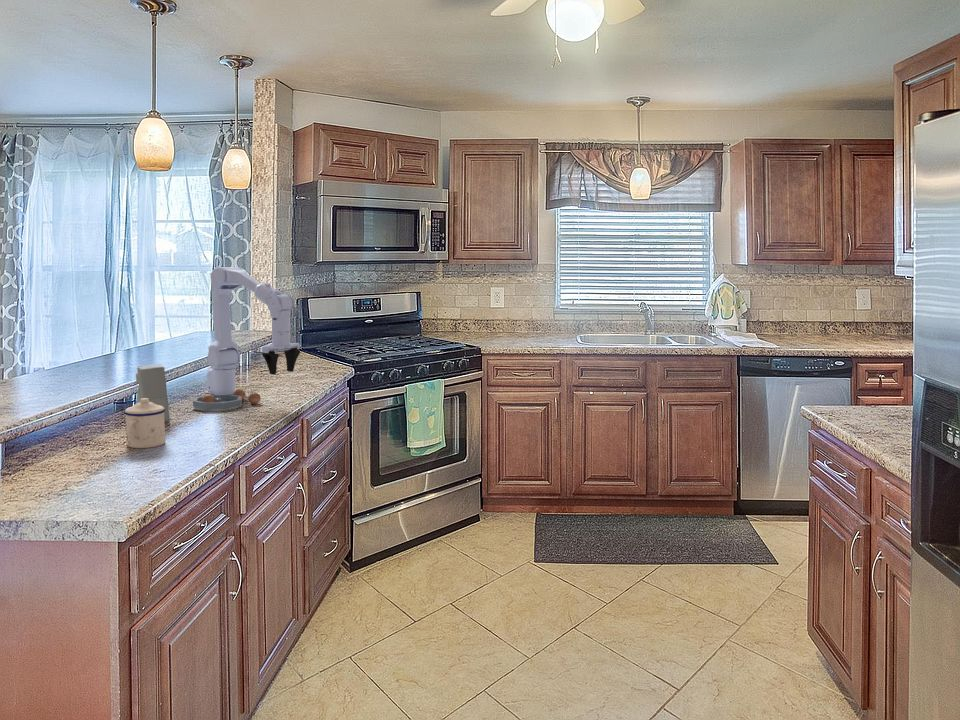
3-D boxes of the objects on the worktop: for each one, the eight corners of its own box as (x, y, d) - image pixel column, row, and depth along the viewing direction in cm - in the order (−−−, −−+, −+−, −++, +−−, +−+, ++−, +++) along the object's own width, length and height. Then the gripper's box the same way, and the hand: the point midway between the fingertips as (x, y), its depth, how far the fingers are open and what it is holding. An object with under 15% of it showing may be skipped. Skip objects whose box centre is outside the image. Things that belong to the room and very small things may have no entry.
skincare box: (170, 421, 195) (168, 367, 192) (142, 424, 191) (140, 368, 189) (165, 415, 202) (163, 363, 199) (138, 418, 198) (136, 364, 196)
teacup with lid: (139, 438, 176) (137, 394, 174) (173, 440, 175) (171, 395, 173) (110, 451, 164) (108, 403, 162) (147, 453, 163) (144, 405, 161)
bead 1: (231, 400, 225) (230, 389, 225) (240, 399, 228) (239, 388, 228) (239, 402, 223) (238, 390, 223) (248, 400, 227) (247, 389, 226)
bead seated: (199, 406, 212) (199, 394, 211) (209, 404, 215) (209, 392, 215) (207, 407, 210) (207, 395, 210) (217, 405, 213) (217, 393, 213)
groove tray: (184, 407, 213) (184, 399, 213) (220, 400, 225) (220, 392, 225) (215, 413, 206) (214, 405, 206) (250, 405, 219) (250, 397, 218)
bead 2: (245, 404, 220) (245, 392, 220) (254, 402, 224) (254, 391, 223) (254, 405, 219) (254, 394, 218) (263, 403, 222) (263, 392, 221)
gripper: (273, 334, 213) (273, 376, 215) (306, 330, 225) (306, 371, 227) (257, 332, 216) (258, 374, 218) (290, 329, 229) (291, 369, 231)
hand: (281, 372), depth 223 cm, fingers open, 7 cm apart
